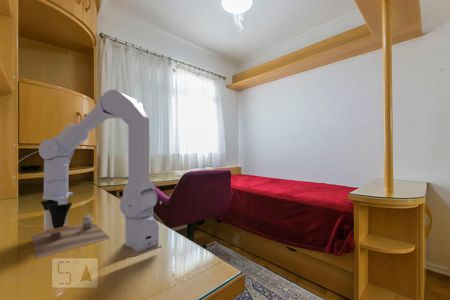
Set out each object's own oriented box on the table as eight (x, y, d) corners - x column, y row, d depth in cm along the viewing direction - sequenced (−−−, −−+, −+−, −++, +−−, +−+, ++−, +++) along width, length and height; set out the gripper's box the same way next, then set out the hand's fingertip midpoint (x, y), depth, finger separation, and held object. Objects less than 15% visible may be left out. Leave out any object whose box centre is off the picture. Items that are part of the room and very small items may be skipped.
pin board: (110, 242, 59) (111, 224, 59) (35, 263, 47) (36, 241, 47) (92, 225, 72) (93, 211, 73) (31, 238, 61) (31, 221, 61)
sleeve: (67, 230, 60) (68, 210, 61) (44, 235, 57) (45, 213, 57) (65, 225, 64) (65, 207, 64) (43, 230, 60) (43, 210, 60)
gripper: (80, 180, 59) (79, 226, 59) (65, 177, 68) (65, 217, 68) (49, 183, 54) (48, 234, 54) (37, 179, 63) (36, 222, 62)
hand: (55, 225), depth 60 cm, fingers closed on sleeve, 5 cm apart
